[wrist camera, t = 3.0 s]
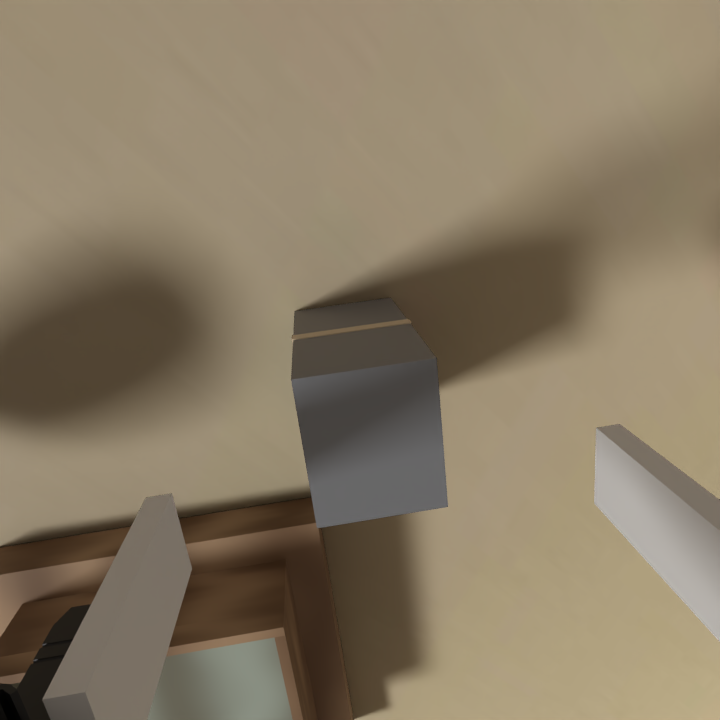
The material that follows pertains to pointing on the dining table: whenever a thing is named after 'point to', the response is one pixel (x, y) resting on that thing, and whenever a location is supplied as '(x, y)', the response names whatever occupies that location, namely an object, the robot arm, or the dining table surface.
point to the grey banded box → (367, 413)
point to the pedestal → (205, 614)
